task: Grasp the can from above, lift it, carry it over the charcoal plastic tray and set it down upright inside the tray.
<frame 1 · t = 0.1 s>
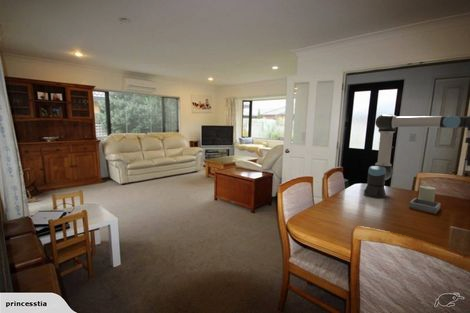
hand: (468, 169, 147), 28 cm above the table, tool pointing down, fingers open, 13 cm apart
can: (425, 202, 164), on the table
tray: (424, 208, 153), on the table
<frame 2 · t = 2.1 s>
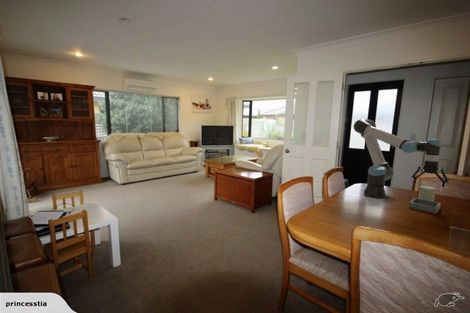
hand: (428, 189, 163), 10 cm above the table, tool pointing down, fingers open, 13 cm apart
nothing on the table moved.
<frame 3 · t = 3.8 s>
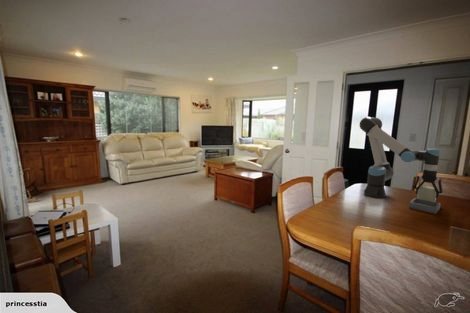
hand: (426, 199, 164), 2 cm above the table, tool pointing down, fingers closed on can, 9 cm apart
can: (425, 202, 164), on the table, touching gripper
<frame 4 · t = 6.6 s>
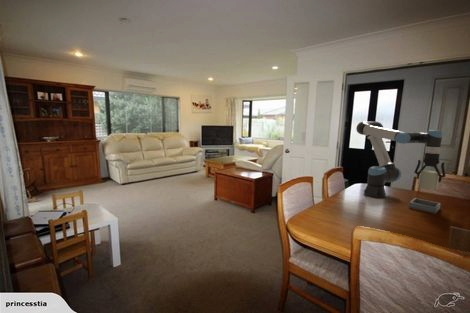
hand: (427, 185, 155), 15 cm above the table, tool pointing down, fingers closed on can, 9 cm apart
can: (427, 188, 155), point 13 cm above the table, touching gripper
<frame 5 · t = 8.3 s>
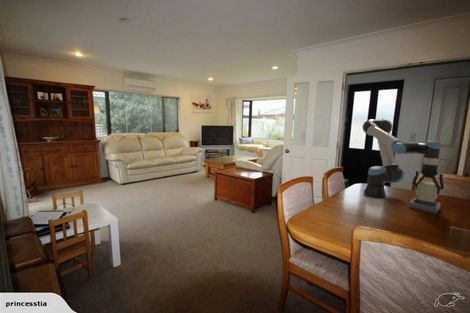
hand: (426, 196, 151), 8 cm above the table, tool pointing down, fingers closed on can, 9 cm apart
can: (425, 199, 152), point 6 cm above the table, touching gripper
when the fingers open (5 cm above the table, at t = 9.8 s): can drops 2 cm, resting on tray.
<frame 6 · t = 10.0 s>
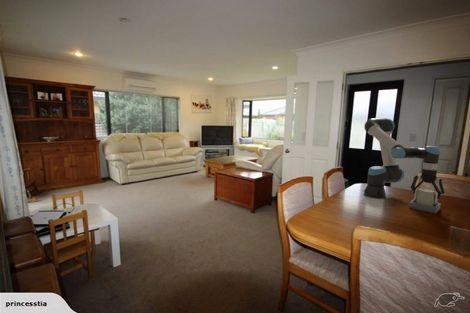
hand: (425, 200, 152), 5 cm above the table, tool pointing down, fingers open, 10 cm apart
can: (423, 206, 153), point 1 cm above the table, touching gripper, tray
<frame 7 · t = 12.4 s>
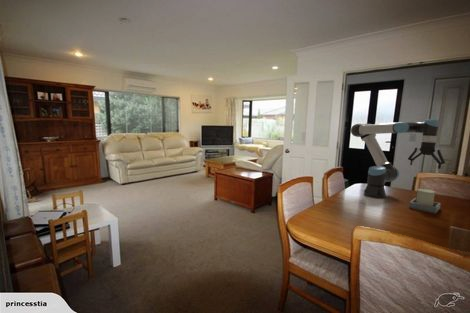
hand: (424, 171, 159), 24 cm above the table, tool pointing down, fingers open, 13 cm apart
can: (423, 206, 153), point 1 cm above the table, touching tray
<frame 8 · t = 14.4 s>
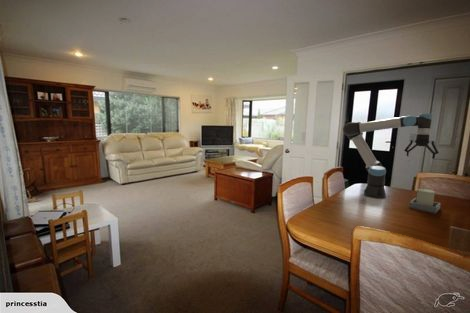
hand: (419, 161, 171), 29 cm above the table, tool pointing down, fingers open, 13 cm apart
nothing on the table moved.
at the end: can inside the target area on the tray (0.3 cm from its centre), point 0.8 cm above the tray's base; can tilted 0°; the gripper is holding nothing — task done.
